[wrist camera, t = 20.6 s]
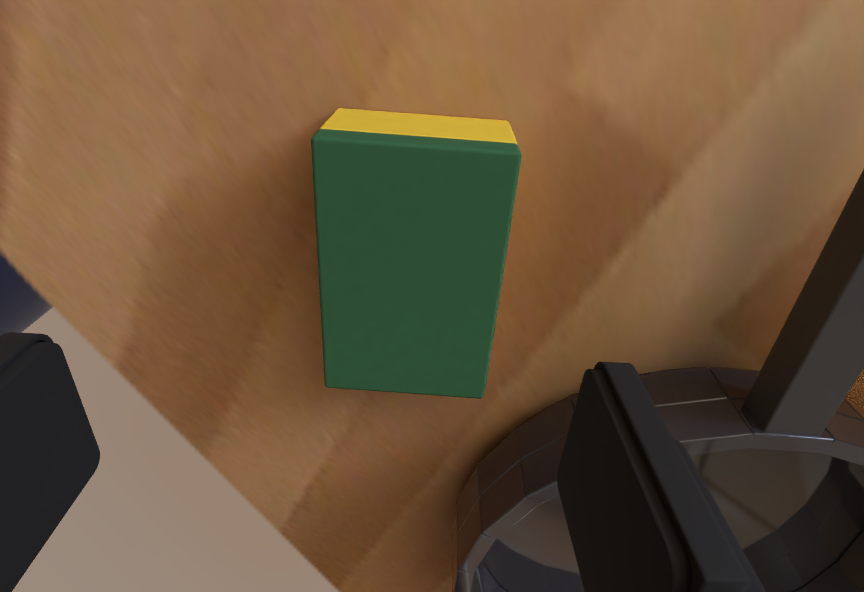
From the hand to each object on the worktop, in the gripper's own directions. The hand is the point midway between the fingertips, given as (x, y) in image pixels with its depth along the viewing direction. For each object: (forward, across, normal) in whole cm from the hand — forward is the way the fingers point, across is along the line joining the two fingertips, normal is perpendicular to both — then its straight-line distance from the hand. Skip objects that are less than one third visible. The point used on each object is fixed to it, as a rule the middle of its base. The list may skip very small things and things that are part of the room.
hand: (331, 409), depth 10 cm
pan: (+7, -12, +12) cm, 18 cm away
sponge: (+7, -1, 0) cm, 7 cm away
